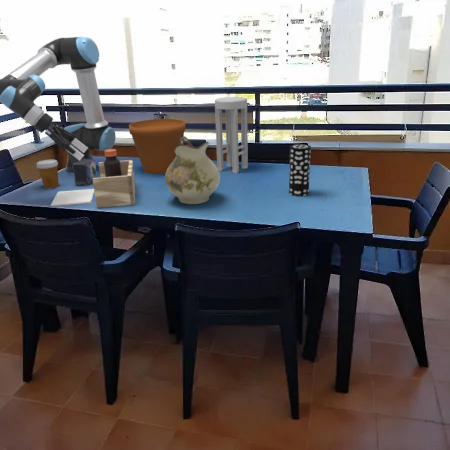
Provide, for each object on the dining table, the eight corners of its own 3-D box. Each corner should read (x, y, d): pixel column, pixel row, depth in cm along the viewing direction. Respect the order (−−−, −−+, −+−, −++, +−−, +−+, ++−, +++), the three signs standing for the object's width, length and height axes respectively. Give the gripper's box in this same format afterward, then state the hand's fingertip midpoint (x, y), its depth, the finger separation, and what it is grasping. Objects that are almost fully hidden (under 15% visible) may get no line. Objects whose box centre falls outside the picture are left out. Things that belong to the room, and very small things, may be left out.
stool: (253, 167, 226) (252, 97, 213) (237, 174, 214) (236, 101, 201) (227, 164, 234) (226, 96, 221) (211, 171, 222) (208, 100, 209)
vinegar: (118, 192, 195) (113, 147, 187) (127, 195, 190) (121, 150, 183) (105, 196, 190) (98, 150, 183) (113, 199, 186) (107, 153, 178)
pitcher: (200, 212, 168) (197, 147, 159) (153, 202, 180) (147, 142, 171) (230, 195, 186) (229, 137, 177) (186, 188, 198) (182, 132, 188)
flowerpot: (165, 159, 247) (161, 117, 238) (199, 167, 229) (196, 122, 220) (123, 170, 229) (117, 124, 220) (156, 179, 211) (151, 130, 202)
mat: (58, 192, 196) (58, 191, 196) (95, 189, 199) (94, 188, 199) (50, 206, 180) (50, 205, 180) (90, 203, 182) (90, 201, 182)
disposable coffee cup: (66, 184, 208) (62, 160, 203) (51, 190, 200) (46, 165, 195) (51, 182, 212) (46, 158, 207) (36, 188, 204) (31, 163, 199)
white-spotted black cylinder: (296, 197, 181) (298, 149, 173) (285, 192, 188) (286, 146, 180) (312, 194, 185) (315, 147, 177) (300, 188, 191) (302, 143, 184)
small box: (88, 186, 205) (84, 164, 201) (75, 185, 206) (71, 164, 202) (98, 179, 214) (95, 158, 210) (86, 179, 215) (82, 158, 211)
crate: (102, 187, 202) (98, 162, 197) (135, 185, 204) (132, 159, 199) (96, 207, 177) (92, 179, 172) (134, 204, 179) (131, 176, 175)
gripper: (40, 121, 185) (82, 154, 193) (25, 132, 163) (74, 168, 171) (50, 108, 184) (92, 141, 192) (37, 116, 161) (86, 154, 169)
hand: (84, 154), depth 181 cm, fingers open, 13 cm apart
